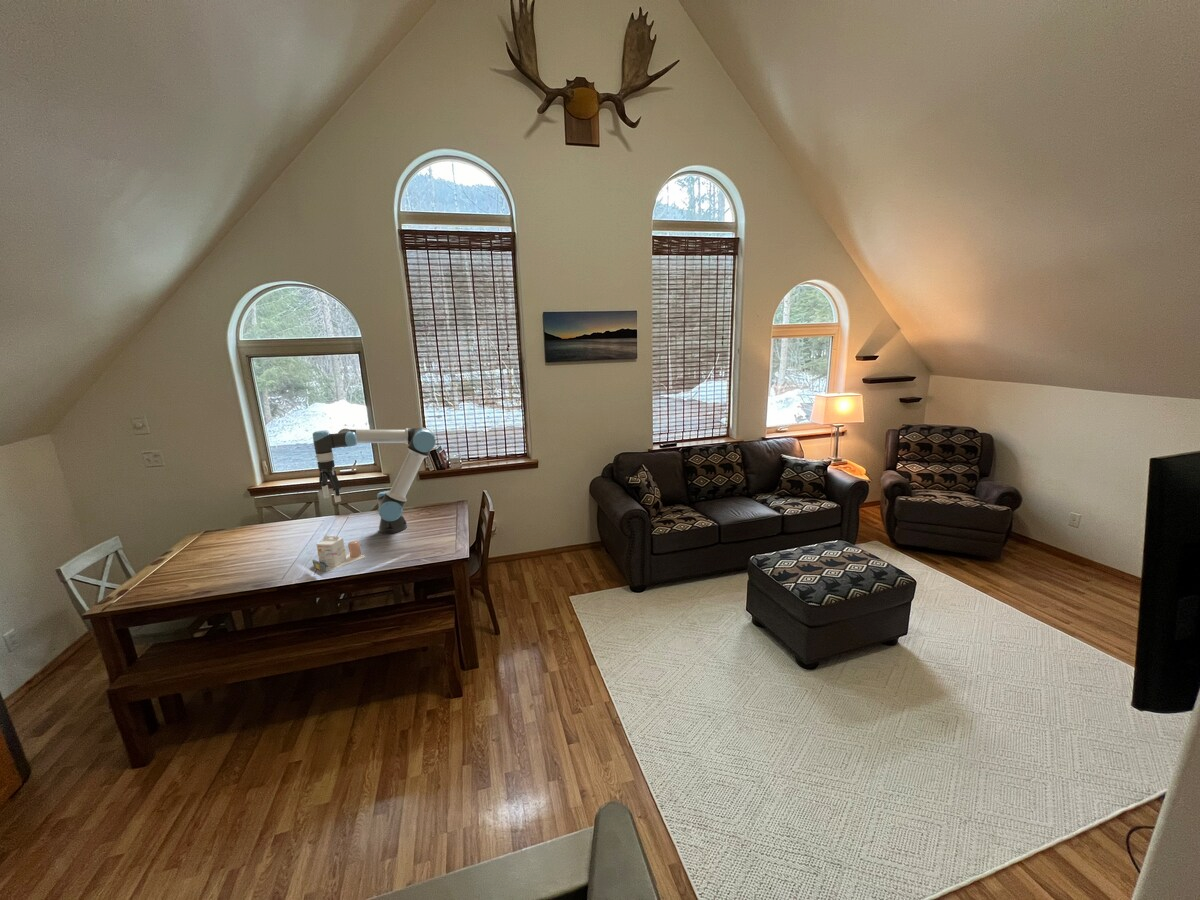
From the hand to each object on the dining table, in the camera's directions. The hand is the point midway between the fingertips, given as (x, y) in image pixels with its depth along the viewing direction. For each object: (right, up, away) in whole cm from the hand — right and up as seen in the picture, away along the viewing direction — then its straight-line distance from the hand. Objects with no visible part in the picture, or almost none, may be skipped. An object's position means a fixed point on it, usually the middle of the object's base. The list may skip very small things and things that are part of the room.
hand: (332, 499), depth 250 cm
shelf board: (+13, -30, -16) cm, 37 cm away
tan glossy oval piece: (+18, -27, -11) cm, 34 cm away
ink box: (+11, -29, -18) cm, 36 cm away
